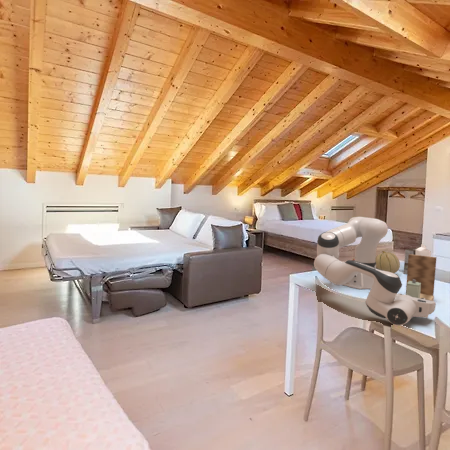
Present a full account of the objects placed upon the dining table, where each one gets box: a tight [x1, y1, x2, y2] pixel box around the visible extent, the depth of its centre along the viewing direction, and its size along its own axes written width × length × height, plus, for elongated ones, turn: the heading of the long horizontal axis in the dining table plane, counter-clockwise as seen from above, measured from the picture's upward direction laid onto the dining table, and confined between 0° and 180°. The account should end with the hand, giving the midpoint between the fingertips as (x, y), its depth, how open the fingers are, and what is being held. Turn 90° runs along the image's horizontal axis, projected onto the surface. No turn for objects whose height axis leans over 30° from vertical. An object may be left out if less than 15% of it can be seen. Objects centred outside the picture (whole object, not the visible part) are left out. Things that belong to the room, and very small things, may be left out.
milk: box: [415, 243, 432, 257], centre depth 203 cm, size 6×6×22 cm
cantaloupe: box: [375, 250, 401, 274], centre depth 218 cm, size 15×15×15 cm
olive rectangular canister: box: [405, 279, 421, 298], centre depth 161 cm, size 5×5×14 cm
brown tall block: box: [405, 254, 437, 302], centre depth 172 cm, size 12×16×22 cm
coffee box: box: [403, 247, 417, 275], centre depth 221 cm, size 9×6×16 cm
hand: (411, 297), depth 157 cm, fingers open, 8 cm apart
